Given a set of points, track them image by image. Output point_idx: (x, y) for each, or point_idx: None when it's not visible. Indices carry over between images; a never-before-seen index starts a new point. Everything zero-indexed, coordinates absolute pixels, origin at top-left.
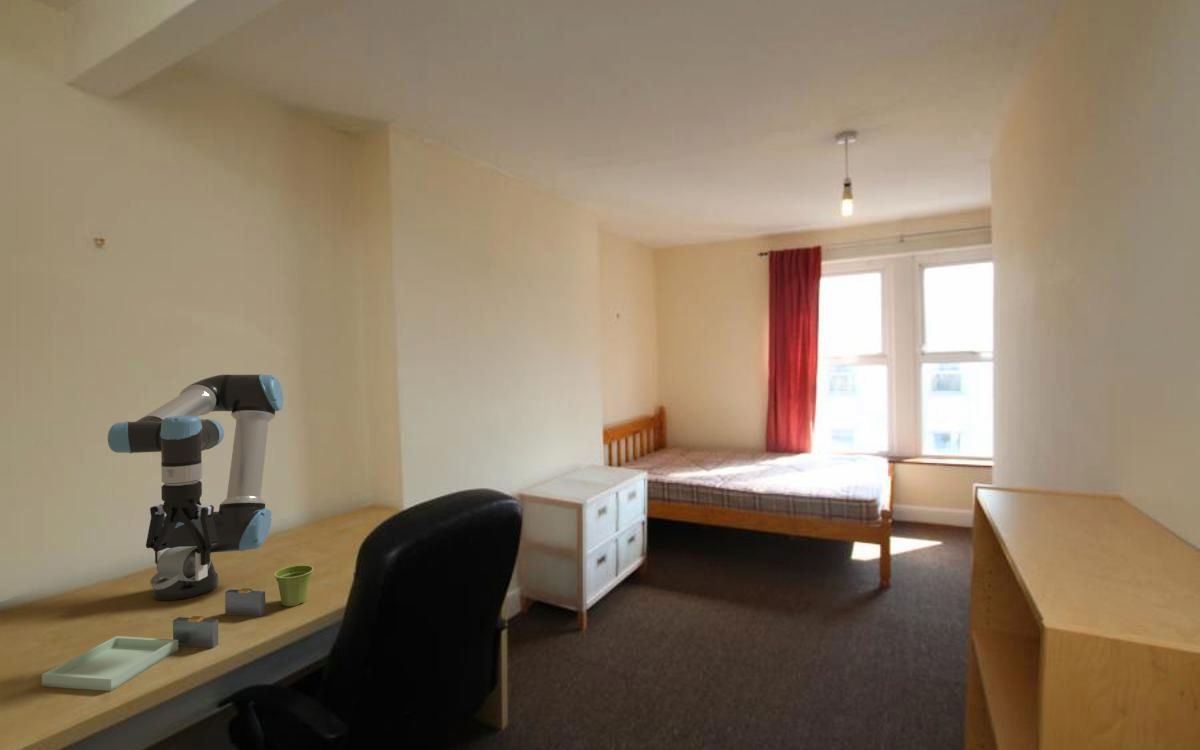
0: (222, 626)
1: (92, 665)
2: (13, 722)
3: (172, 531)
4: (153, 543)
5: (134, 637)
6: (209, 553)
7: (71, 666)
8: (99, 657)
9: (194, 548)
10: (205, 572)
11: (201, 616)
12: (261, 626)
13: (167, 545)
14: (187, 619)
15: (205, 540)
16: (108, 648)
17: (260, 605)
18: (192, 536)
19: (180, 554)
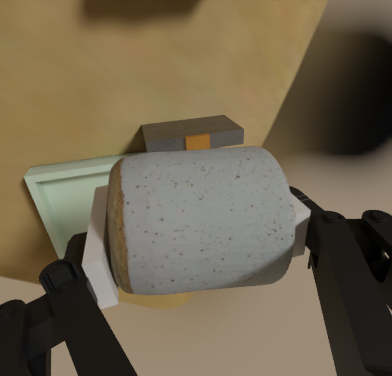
0: (169, 41)
1: (84, 225)
2: (134, 302)
3: (133, 369)
4: (46, 349)
5: (72, 171)
6: (319, 209)
7: (64, 244)
8: (63, 209)
9: (288, 264)
10: None
11: (206, 136)
12: (257, 24)
13: (66, 267)
14: (177, 146)
15: (380, 289)
16: (43, 190)
17: None
18: (327, 329)
19: (241, 286)
